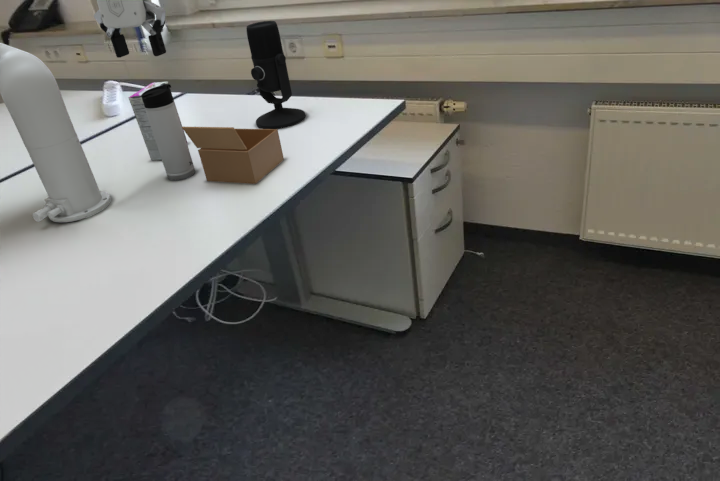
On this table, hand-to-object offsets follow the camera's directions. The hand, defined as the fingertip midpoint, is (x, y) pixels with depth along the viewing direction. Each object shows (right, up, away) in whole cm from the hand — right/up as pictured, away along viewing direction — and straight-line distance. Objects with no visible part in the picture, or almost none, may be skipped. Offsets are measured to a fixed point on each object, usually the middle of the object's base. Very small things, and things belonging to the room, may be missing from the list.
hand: (141, 55), depth 116 cm
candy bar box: (-4, -16, +28) cm, 32 cm away
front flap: (+15, -17, 0) cm, 22 cm away
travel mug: (+4, -23, +14) cm, 27 cm away
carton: (+19, -22, +11) cm, 31 cm away
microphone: (+23, -5, +38) cm, 45 cm away
